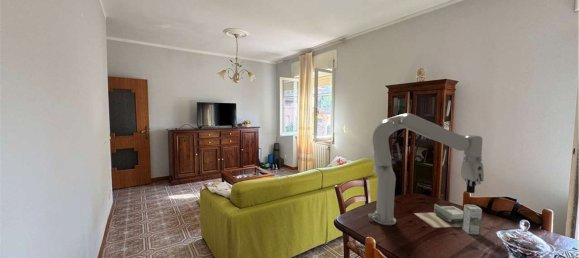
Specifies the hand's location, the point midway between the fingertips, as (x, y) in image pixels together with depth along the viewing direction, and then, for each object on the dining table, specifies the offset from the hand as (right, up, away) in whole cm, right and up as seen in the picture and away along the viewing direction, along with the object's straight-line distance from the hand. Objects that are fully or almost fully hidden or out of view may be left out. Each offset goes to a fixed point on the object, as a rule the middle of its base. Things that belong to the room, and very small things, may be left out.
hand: (470, 192), depth 128 cm
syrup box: (+1, -22, +1) cm, 22 cm away
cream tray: (-4, -20, +15) cm, 26 cm away
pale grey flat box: (+1, -20, +16) cm, 26 cm away
